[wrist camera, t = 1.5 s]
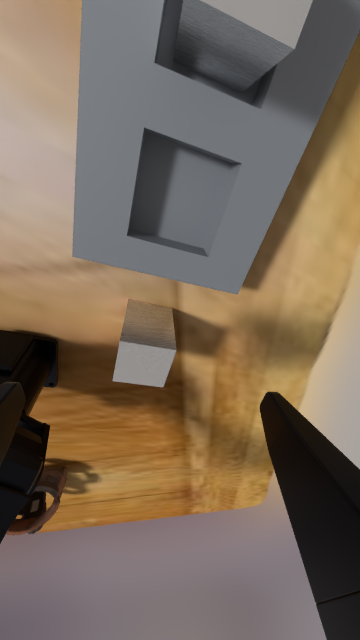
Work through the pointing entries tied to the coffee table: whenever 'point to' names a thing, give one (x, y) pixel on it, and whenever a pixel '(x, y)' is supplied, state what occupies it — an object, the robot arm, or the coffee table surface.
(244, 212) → the pallet
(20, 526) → the brown looped piece
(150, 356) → the billet
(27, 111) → the coffee table surface
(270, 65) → the block
